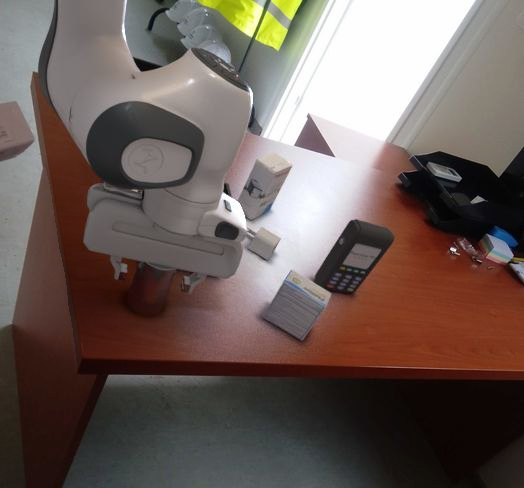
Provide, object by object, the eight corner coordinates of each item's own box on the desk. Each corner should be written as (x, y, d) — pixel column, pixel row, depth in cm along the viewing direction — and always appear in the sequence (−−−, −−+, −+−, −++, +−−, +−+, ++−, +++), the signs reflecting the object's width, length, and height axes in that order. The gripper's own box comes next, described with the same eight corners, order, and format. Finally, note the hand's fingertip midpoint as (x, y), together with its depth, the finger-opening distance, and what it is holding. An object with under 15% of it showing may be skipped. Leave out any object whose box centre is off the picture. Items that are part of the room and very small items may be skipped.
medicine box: (308, 328, 80) (333, 293, 74) (301, 342, 77) (327, 307, 71) (269, 304, 80) (291, 267, 74) (261, 318, 77) (283, 280, 71)
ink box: (253, 198, 103) (275, 150, 95) (271, 211, 102) (294, 164, 94) (233, 207, 96) (255, 157, 89) (252, 221, 96) (275, 172, 88)
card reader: (316, 291, 89) (358, 229, 79) (310, 277, 91) (350, 215, 81) (354, 297, 93) (398, 239, 83) (347, 284, 96) (389, 226, 86)
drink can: (126, 312, 65) (141, 265, 59) (127, 287, 68) (140, 240, 62) (163, 318, 67) (180, 273, 61) (161, 294, 70) (177, 248, 64)
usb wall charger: (266, 261, 88) (275, 245, 86) (236, 242, 88) (244, 226, 86) (273, 253, 91) (281, 237, 89) (243, 234, 91) (251, 218, 89)
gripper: (88, 192, 49) (73, 284, 59) (258, 236, 58) (222, 310, 67) (92, 162, 53) (77, 253, 63) (251, 207, 62) (217, 282, 71)
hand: (153, 283), depth 65 cm, fingers open, 8 cm apart
